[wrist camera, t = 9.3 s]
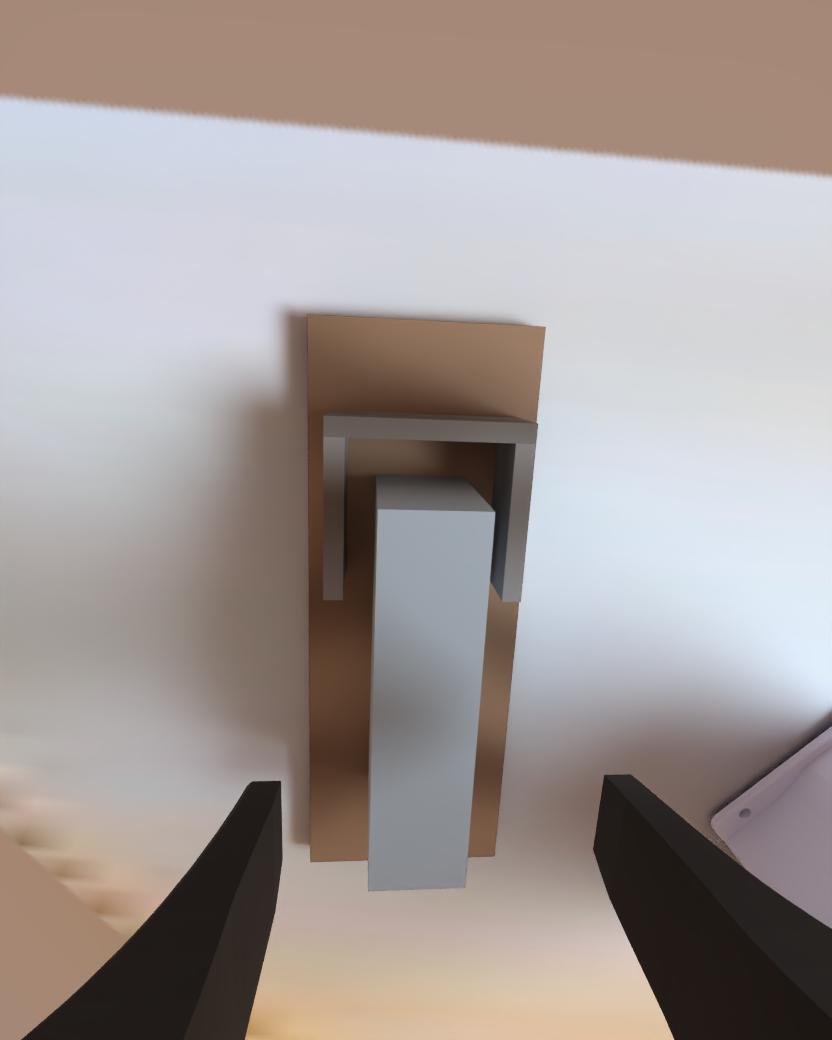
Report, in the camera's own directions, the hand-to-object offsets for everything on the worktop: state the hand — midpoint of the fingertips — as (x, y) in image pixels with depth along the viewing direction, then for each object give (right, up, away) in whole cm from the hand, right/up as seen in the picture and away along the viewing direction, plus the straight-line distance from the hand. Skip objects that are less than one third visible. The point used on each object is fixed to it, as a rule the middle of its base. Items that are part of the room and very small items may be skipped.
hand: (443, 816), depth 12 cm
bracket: (-1, +2, +9) cm, 9 cm away
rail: (-1, +2, +8) cm, 9 cm away
